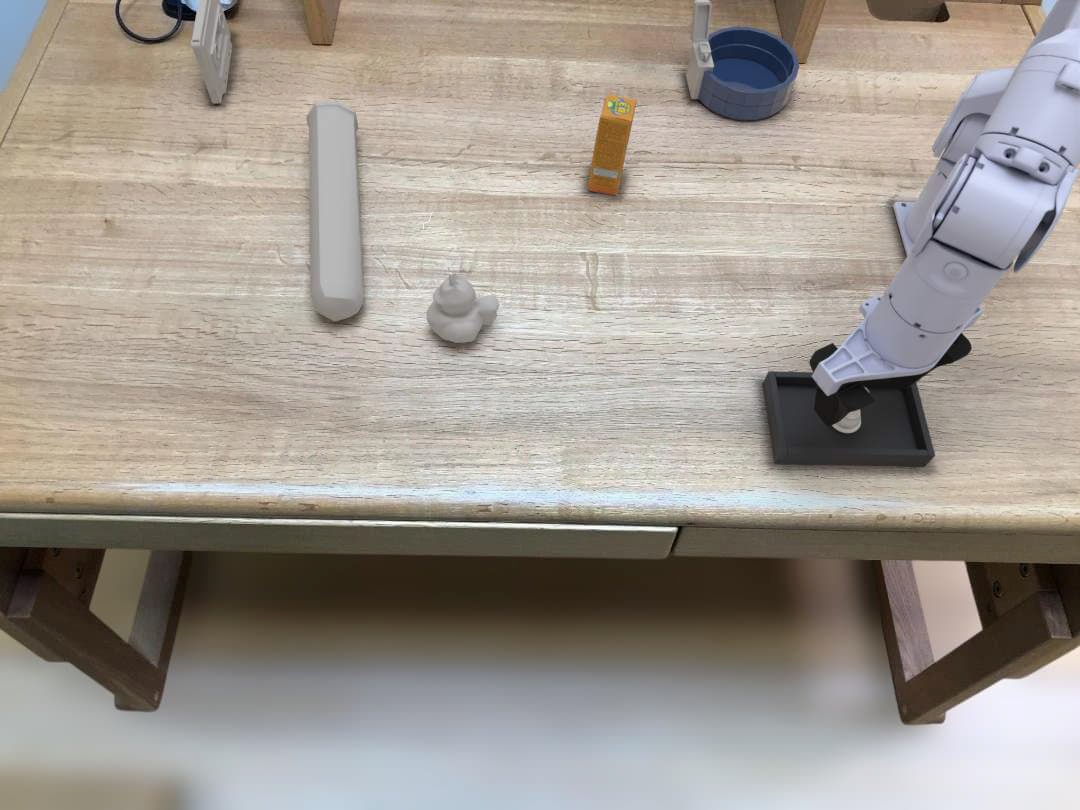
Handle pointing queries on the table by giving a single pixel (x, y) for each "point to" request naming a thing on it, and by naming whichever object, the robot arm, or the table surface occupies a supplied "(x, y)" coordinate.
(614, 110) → the supplement box
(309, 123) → the tube
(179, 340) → the table surface
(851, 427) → the chess pawn
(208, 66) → the cassette
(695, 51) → the lighter
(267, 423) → the table surface
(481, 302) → the rubber duck
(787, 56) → the bowl
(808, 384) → the tray
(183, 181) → the table surface
